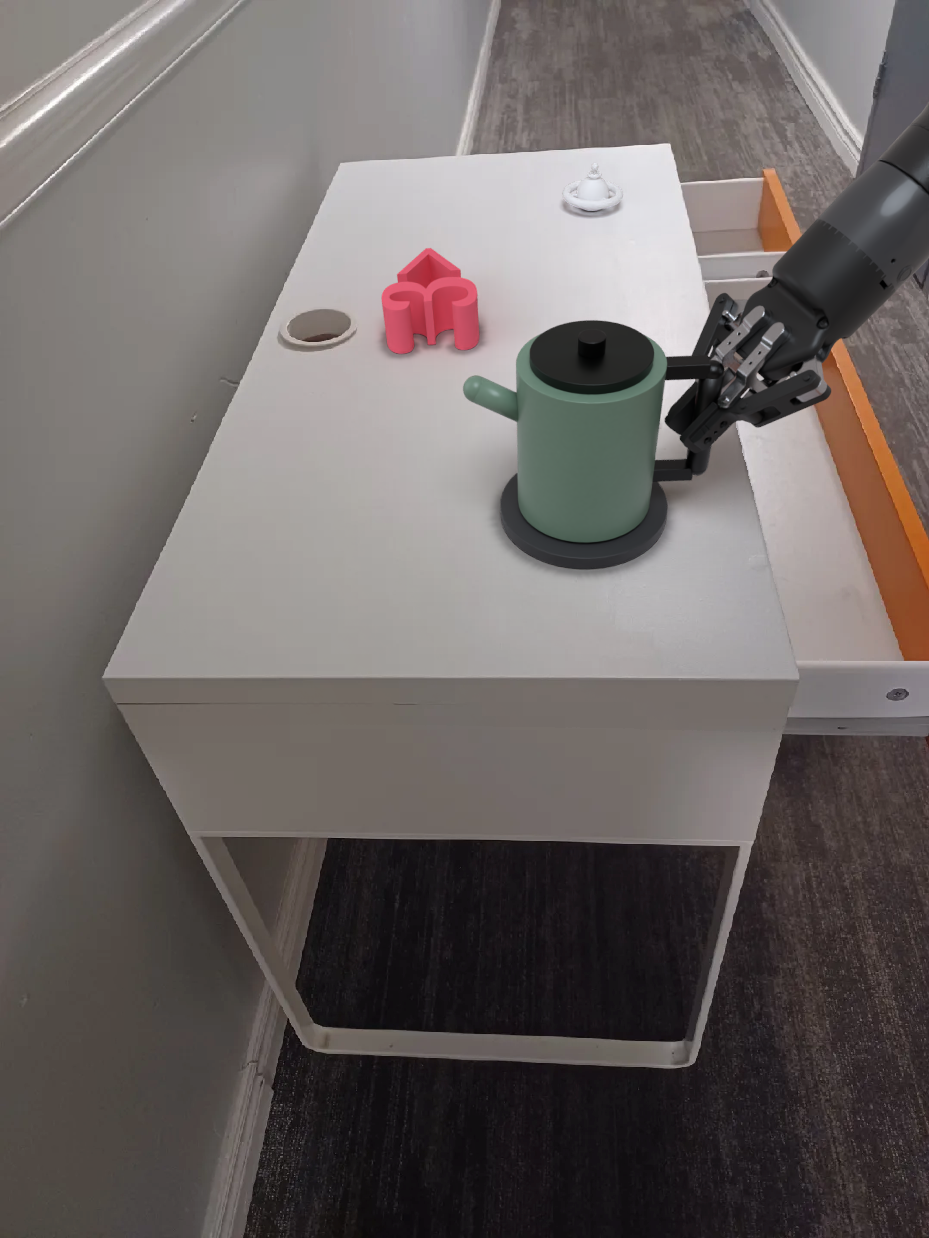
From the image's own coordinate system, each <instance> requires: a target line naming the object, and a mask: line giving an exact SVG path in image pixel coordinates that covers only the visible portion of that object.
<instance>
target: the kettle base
mask: <svg viewBox="0 0 929 1238" xmlns="http://www.w3.org/2000/svg"><path fill="white" fill-rule="evenodd" d="M499 507H500V521H501V524H502V528H503V530H504V532H505V533H506V535H507V536H508V538H509V540H510V541H511V542H512V543H513V544H514V546H516V547H517V548H519V550H521V551H522V552H524V553H525V554H526V555H529V556H531V557H532V558H534V559H536V560H539V561H541V562H543V563H546V564H550V565H553V566H556V567H561V568H568V569H577V570H593V569H605V568H611V567H614V566H617V565H621V564H625V563H627V562H629V561H632V560H634V559H636V558H638V557H639V556H641V555H643V554H645V553H646V552H648V550H650V549H652V547H653V546H654V545H655V544H656V543H657V542H658V540H659V539H660V538H661V536H662V534H663V532H664V530H665V527H666V523H667V517H668V499H667V497H666V493H665V491H664V489H663V487H662V486H661V484H660V483H659V482H652V489H651V497H650V505H649V509H648V512H647V514H646V516H645V518H644V519H643V520H642V522H641V523H640V524H639V525H638V526H636V527H635V528H634V529H632V530H631V531H629V532H628V533H626V534H624V535H622V536H619V537H616V538H613V539H610V540H606V541H600V542H589V543H588V542H571V541H565V540H561V539H557V538H554V537H551V536H549V535H546V534H544V533H543V532H541V531H539V530H537V529H536V528H534V527H533V526H532V525H531V524H530V523H529V522H528V521H527V520H526V519H525V518H524V516H523V515H522V513H521V511H520V508H519V504H518V471H517V472H516V473H515V474H514V475H513V476H512V477H511V478H509V481H508V482H506V484H505V486H504V489H503V491H502V493H501V497H500V506H499Z"/></svg>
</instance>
